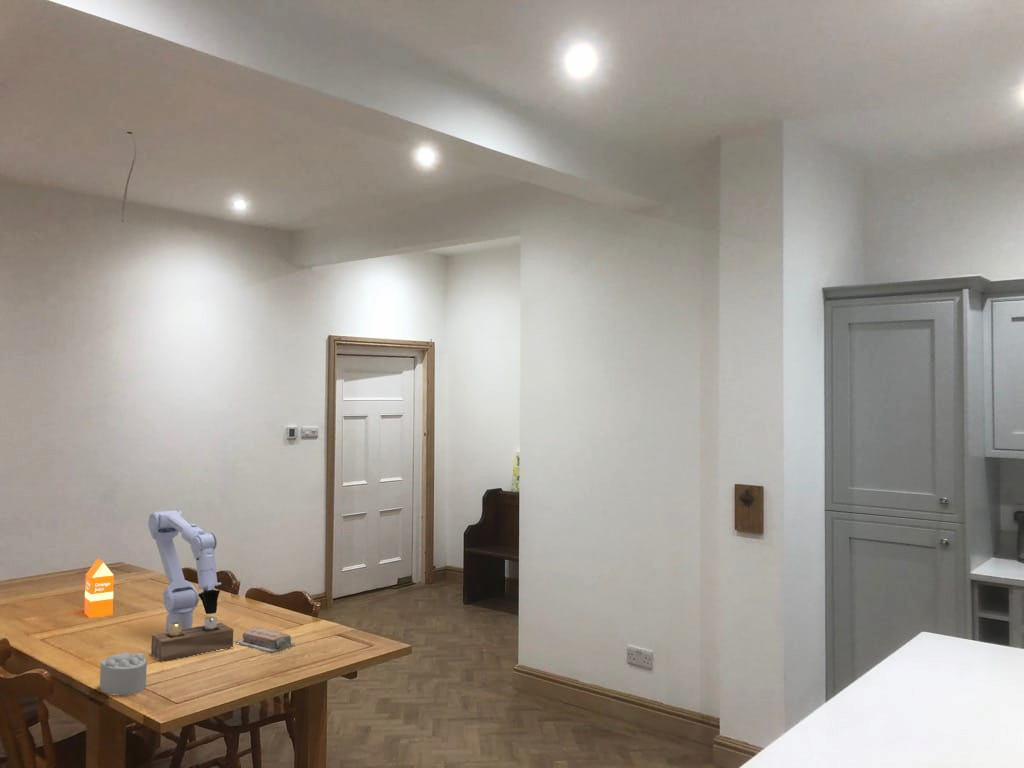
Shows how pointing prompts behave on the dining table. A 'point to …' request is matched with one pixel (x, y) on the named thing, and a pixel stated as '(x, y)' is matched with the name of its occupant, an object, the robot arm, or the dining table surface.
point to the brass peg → (175, 630)
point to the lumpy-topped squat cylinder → (123, 674)
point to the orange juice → (99, 590)
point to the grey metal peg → (210, 624)
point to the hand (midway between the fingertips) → (211, 613)
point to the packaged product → (266, 639)
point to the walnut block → (191, 642)
